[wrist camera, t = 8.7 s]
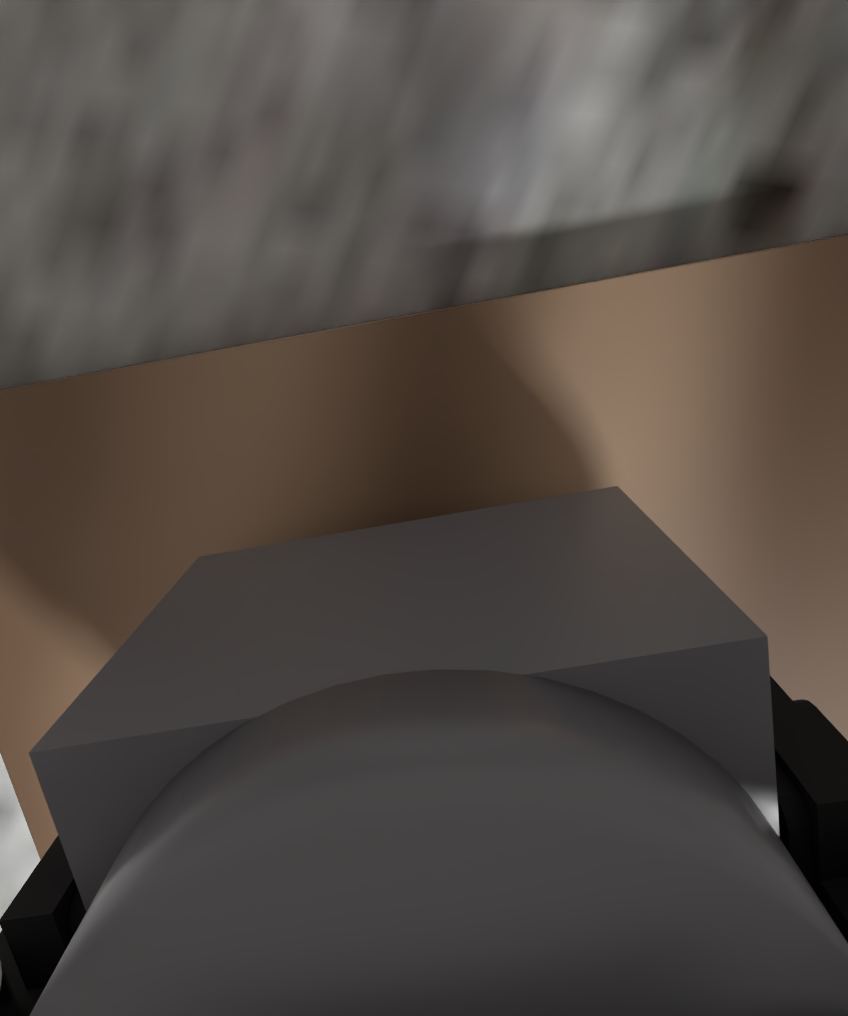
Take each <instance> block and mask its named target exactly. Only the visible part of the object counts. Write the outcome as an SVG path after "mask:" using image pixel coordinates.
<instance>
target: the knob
mask: <svg viewBox="0 0 848 1016" xmlns="http://www.w3.org/2000/svg"><path fill="white" fill-rule="evenodd" d="M29 755H30V758H31V761H32V764H33V766H34V769H35V772H36V775H37V777H38V780H39V783H40V786H41V788H42V791H43V794H44V797H45V799H46V802H47V805H48V808H49V810H50V813H51V816H52V819H53V822H54V824H55V827H56V830H57V833H58V835H59V838H60V841H61V844H62V846H63V849H64V852H65V855H66V857H67V860H68V863H69V866H70V868H71V871H72V874H73V877H74V879H75V882H76V885H77V888H78V891H79V893H80V896H81V899H82V902H83V904H84V907H85V910H86V914H85V916H84V918H83V919H82V921H81V923H80V925H79V927H78V929H77V930H76V932H75V934H74V936H73V938H72V939H71V941H70V943H69V945H68V947H67V949H66V950H65V952H64V954H63V956H62V958H61V959H60V961H59V963H58V965H57V967H56V969H55V970H54V972H53V974H52V976H51V978H50V979H49V981H48V983H47V985H46V987H45V989H44V990H43V992H42V994H41V996H40V998H39V999H38V1001H37V1003H36V1005H35V1007H34V1009H33V1010H32V1012H31V1014H30V1016H848V942H847V941H846V939H845V938H844V936H843V935H842V933H841V932H840V930H839V929H838V927H837V926H836V924H835V922H834V921H833V919H832V918H831V916H830V915H829V913H828V912H827V910H826V909H825V907H824V906H823V904H822V902H821V901H820V899H819V898H818V896H817V895H816V893H815V892H814V890H813V889H812V887H811V886H810V884H809V882H808V881H807V879H806V878H805V876H804V875H803V873H802V872H801V870H800V869H799V867H798V866H797V864H796V862H795V861H794V859H793V858H792V856H791V855H790V853H789V852H788V850H787V849H786V847H785V846H784V844H783V842H782V841H781V839H780V832H779V816H778V799H777V783H776V766H775V750H774V733H773V717H772V700H771V684H770V667H769V651H768V636H767V635H766V634H765V633H764V632H763V631H762V630H761V629H760V628H759V627H758V626H757V625H756V624H755V623H754V622H753V621H752V620H751V619H750V618H749V617H748V616H747V615H746V614H745V613H744V612H743V611H742V610H741V609H740V608H739V607H738V606H737V605H736V604H735V603H734V602H733V601H732V600H731V599H730V598H729V597H728V596H727V595H726V594H725V593H724V592H723V591H722V590H721V589H720V588H719V587H718V586H717V585H716V584H715V583H714V582H713V581H712V580H711V579H710V578H709V577H708V576H707V575H706V574H705V573H704V572H703V571H702V570H701V569H700V568H699V567H698V566H697V565H696V564H695V563H694V562H693V561H692V560H691V559H690V558H689V557H688V556H687V555H686V554H685V553H684V552H683V551H682V550H681V549H680V548H679V547H678V546H677V545H676V544H675V543H674V542H673V541H672V540H671V539H670V538H669V537H668V536H667V535H666V534H665V533H664V532H663V531H662V530H661V529H660V528H659V527H658V526H657V525H656V524H655V523H654V522H653V521H652V520H651V519H650V518H649V517H648V516H647V515H646V514H645V513H644V512H643V511H642V510H641V509H640V508H639V507H638V506H637V505H636V504H635V503H634V502H633V501H632V500H631V499H630V498H629V497H628V496H627V495H626V494H625V493H624V492H623V491H622V490H621V489H620V488H619V487H618V486H613V487H607V488H602V489H596V490H590V491H584V492H578V493H572V494H566V495H560V496H554V497H548V498H543V499H537V500H531V501H525V502H519V503H513V504H507V505H501V506H495V507H489V508H483V509H478V510H472V511H466V512H460V513H454V514H448V515H442V516H436V517H430V518H424V519H418V520H413V521H407V522H401V523H395V524H389V525H383V526H377V527H371V528H365V529H359V530H354V531H348V532H342V533H336V534H330V535H324V536H318V537H312V538H306V539H300V540H294V541H289V542H283V543H277V544H271V545H265V546H259V547H253V548H247V549H241V550H235V551H229V552H224V553H218V554H212V555H206V556H200V557H198V558H197V560H196V561H195V562H194V563H193V564H192V565H191V566H190V568H189V569H188V570H187V571H186V572H185V573H184V574H183V576H182V577H181V578H180V579H179V580H178V581H177V583H176V584H175V585H174V586H173V587H172V588H171V589H170V591H169V592H168V593H167V594H166V595H165V596H164V598H163V599H162V600H161V601H160V602H159V603H158V604H157V606H156V607H155V608H154V609H153V610H152V611H151V612H150V614H149V615H148V616H147V617H146V618H145V619H144V621H143V622H142V623H141V624H140V625H139V626H138V627H137V629H136V630H135V631H134V632H133V633H132V634H131V636H130V637H129V638H128V639H127V640H126V641H125V642H124V644H123V645H122V646H121V647H120V648H119V649H118V651H117V652H116V653H115V654H114V655H113V656H112V657H111V659H110V660H109V661H108V662H107V663H106V664H105V665H104V667H103V668H102V669H101V670H100V671H99V672H98V674H97V675H96V676H95V677H94V678H93V679H92V680H91V682H90V683H89V684H88V685H87V686H86V687H85V689H84V690H83V691H82V692H81V693H80V694H79V695H78V697H77V698H76V699H75V700H74V701H73V702H72V703H71V705H70V706H69V707H68V708H67V709H66V710H65V712H64V713H63V714H62V715H61V716H60V717H59V718H58V720H57V721H56V722H55V723H54V724H53V725H52V727H51V728H50V729H49V730H48V731H47V732H46V733H45V735H44V736H43V737H42V738H41V739H40V740H39V742H38V743H37V744H36V745H35V746H34V747H33V748H32V750H31V751H30V752H29Z"/></svg>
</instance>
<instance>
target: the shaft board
mask: <svg viewBox="0 0 848 1016" xmlns="http://www.w3.org/2000/svg"><path fill="white" fill-rule="evenodd" d="M613 486H618V487H619V488H620V489H621V490H622V491H623V492H624V493H625V494H626V495H627V496H628V497H629V498H630V499H631V500H632V501H633V502H634V503H635V504H636V505H637V506H638V507H639V508H640V509H641V510H642V511H643V512H644V513H645V514H646V515H647V516H648V517H649V518H650V519H651V520H652V521H653V522H654V523H655V524H656V525H657V526H658V527H659V528H660V529H661V530H662V531H663V532H664V533H665V534H666V535H667V536H668V537H669V538H670V539H671V540H672V541H673V542H674V543H675V544H676V545H677V546H678V547H679V548H680V549H681V550H682V551H683V552H684V553H685V554H686V555H687V556H688V557H689V558H690V559H691V560H692V561H693V562H694V563H695V564H696V565H697V566H698V567H699V568H700V569H701V570H702V571H703V572H704V573H705V574H706V575H707V576H708V577H709V578H710V579H711V580H712V581H713V582H714V583H715V584H716V585H717V586H718V587H719V588H720V589H721V590H722V591H723V592H724V593H725V594H726V595H727V596H728V597H729V598H730V599H731V600H732V601H733V602H734V603H735V604H736V605H737V606H738V607H739V608H740V609H741V610H742V611H743V612H744V613H745V614H746V615H747V616H748V617H749V618H750V619H751V620H752V621H753V622H754V623H755V624H756V625H757V626H758V627H759V628H760V629H761V630H762V631H763V632H764V633H765V634H766V635H767V636H768V651H769V667H770V676H771V677H772V678H773V679H774V680H775V681H776V682H777V683H778V685H779V686H780V687H781V688H782V689H783V690H784V691H785V693H786V694H787V695H788V696H789V697H790V698H791V699H792V700H793V701H794V700H800V699H804V700H809V701H810V702H811V703H812V704H814V705H815V706H816V707H817V708H818V709H819V710H820V711H821V713H822V714H823V715H824V716H825V717H826V718H827V719H828V720H829V721H830V722H831V723H832V724H833V725H834V727H835V728H836V729H837V730H838V731H839V732H840V733H841V734H842V735H843V736H844V737H845V738H846V739H847V741H848V234H845V235H840V236H834V237H829V238H823V239H818V240H812V241H807V242H801V243H796V244H791V245H785V246H780V247H774V248H769V249H763V250H758V251H752V252H747V253H742V254H736V255H731V256H725V257H720V258H714V259H709V260H703V261H698V262H692V263H687V264H682V265H676V266H671V267H665V268H660V269H654V270H649V271H643V272H638V273H633V274H627V275H622V276H616V277H611V278H605V279H600V280H594V281H589V282H583V283H578V284H573V285H567V286H562V287H556V288H551V289H545V290H540V291H534V292H529V293H524V294H518V295H513V296H507V297H502V298H496V299H491V300H485V301H480V302H474V303H469V304H464V305H458V306H453V307H447V308H442V309H436V310H431V311H425V312H420V313H415V314H409V315H404V316H398V317H393V318H387V319H382V320H376V321H371V322H366V323H360V324H355V325H349V326H344V327H338V328H333V329H327V330H322V331H316V332H311V333H306V334H300V335H295V336H289V337H284V338H278V339H273V340H267V341H262V342H257V343H251V344H246V345H240V346H235V347H229V348H224V349H218V350H213V351H207V352H202V353H197V354H191V355H186V356H180V357H175V358H169V359H164V360H158V361H153V362H148V363H142V364H137V365H131V366H126V367H120V368H115V369H109V370H104V371H98V372H93V373H88V374H82V375H77V376H71V377H66V378H60V379H55V380H49V381H44V382H39V383H33V384H28V385H22V386H17V387H11V388H6V389H0V753H1V755H2V758H3V761H4V763H5V766H6V769H7V771H8V774H9V777H10V779H11V782H12V785H13V787H14V790H15V793H16V795H17V798H18V801H19V803H20V806H21V809H22V811H23V814H24V817H25V819H26V822H27V825H28V827H29V830H30V833H31V835H32V838H33V841H34V843H35V846H36V849H37V851H38V854H39V857H40V859H42V858H43V856H44V855H45V853H46V852H47V850H48V849H49V848H50V846H51V845H52V843H53V842H54V840H55V839H56V837H57V836H58V833H57V830H56V827H55V824H54V822H53V819H52V816H51V813H50V810H49V808H48V805H47V802H46V799H45V797H44V794H43V791H42V788H41V786H40V783H39V780H38V777H37V775H36V772H35V769H34V766H33V764H32V761H31V758H30V755H29V752H30V751H31V750H32V748H33V747H34V746H35V745H36V744H37V743H38V742H39V740H40V739H41V738H42V737H43V736H44V735H45V733H46V732H47V731H48V730H49V729H50V728H51V727H52V725H53V724H54V723H55V722H56V721H57V720H58V718H59V717H60V716H61V715H62V714H63V713H64V712H65V710H66V709H67V708H68V707H69V706H70V705H71V703H72V702H73V701H74V700H75V699H76V698H77V697H78V695H79V694H80V693H81V692H82V691H83V690H84V689H85V687H86V686H87V685H88V684H89V683H90V682H91V680H92V679H93V678H94V677H95V676H96V675H97V674H98V672H99V671H100V670H101V669H102V668H103V667H104V665H105V664H106V663H107V662H108V661H109V660H110V659H111V657H112V656H113V655H114V654H115V653H116V652H117V651H118V649H119V648H120V647H121V646H122V645H123V644H124V642H125V641H126V640H127V639H128V638H129V637H130V636H131V634H132V633H133V632H134V631H135V630H136V629H137V627H138V626H139V625H140V624H141V623H142V622H143V621H144V619H145V618H146V617H147V616H148V615H149V614H150V612H151V611H152V610H153V609H154V608H155V607H156V606H157V604H158V603H159V602H160V601H161V600H162V599H163V598H164V596H165V595H166V594H167V593H168V592H169V591H170V589H171V588H172V587H173V586H174V585H175V584H176V583H177V581H178V580H179V579H180V578H181V577H182V576H183V574H184V573H185V572H186V571H187V570H188V569H189V568H190V566H191V565H192V564H193V563H194V562H195V561H196V560H197V558H198V557H200V556H206V555H212V554H218V553H224V552H229V551H235V550H241V549H247V548H253V547H259V546H265V545H271V544H277V543H283V542H289V541H294V540H300V539H306V538H312V537H318V536H324V535H330V534H336V533H342V532H348V531H354V530H359V529H365V528H371V527H377V526H383V525H389V524H395V523H401V522H407V521H413V520H418V519H424V518H430V517H436V516H442V515H448V514H454V513H460V512H466V511H472V510H478V509H483V508H489V507H495V506H501V505H507V504H513V503H519V502H525V501H531V500H537V499H543V498H548V497H554V496H560V495H566V494H572V493H578V492H584V491H590V490H596V489H602V488H607V487H613Z"/></svg>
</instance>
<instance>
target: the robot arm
mask: <svg viewBox="0 0 848 1016" xmlns="http://www.w3.org/2000/svg"><path fill="white" fill-rule="evenodd" d="M770 684H771V700H772V717H773V733H774V750H775V766H776V783H777V799H778V816H779V832H780V839H781V841H782V842H783V844H784V846H785V847H786V849H787V850H788V852H789V853H790V855H791V856H792V858H793V859H794V861H795V862H796V864H797V866H798V867H799V869H800V870H801V872H802V873H803V875H804V876H805V878H806V879H807V881H808V882H809V884H810V886H811V887H812V889H813V890H814V892H815V893H816V895H817V896H818V898H819V899H820V901H821V902H822V904H823V906H824V907H825V909H826V910H827V912H828V913H829V915H830V916H831V918H832V919H833V921H834V922H835V924H836V926H837V927H838V929H839V930H840V932H841V933H842V935H843V936H844V938H845V939H846V941H847V942H848V741H847V739H846V738H845V737H844V736H843V735H842V734H841V733H840V732H839V731H838V730H837V729H836V728H835V727H834V725H833V724H832V723H831V722H830V721H829V720H828V719H827V718H826V717H825V716H824V715H823V714H822V713H821V711H820V710H819V709H818V708H817V707H816V706H815V705H814V704H812V703H811V702H810V701H809V700H804V699H800V700H794V701H793V700H792V699H791V698H790V697H789V696H788V695H787V694H786V693H785V691H784V690H783V689H782V688H781V687H780V686H779V685H778V683H777V682H776V681H775V680H774V679H773V678H772V677H771V676H770ZM85 914H86V910H85V907H84V904H83V902H82V899H81V896H80V893H79V891H78V888H77V885H76V882H75V879H74V877H73V874H72V871H71V868H70V866H69V863H68V860H67V857H66V855H65V852H64V849H63V846H62V844H61V841H60V838H59V835H58V836H57V837H56V839H55V840H54V842H53V843H52V845H51V846H50V848H49V849H48V850H47V852H46V853H45V855H44V856H43V858H42V859H41V861H40V862H39V864H38V865H37V866H36V868H35V869H34V871H33V872H32V874H31V875H30V877H29V878H28V880H27V881H26V882H25V884H24V885H23V887H22V888H21V890H20V891H19V893H18V894H17V896H16V897H15V898H14V900H13V901H12V903H11V904H10V906H9V907H8V909H7V910H6V912H5V913H4V914H3V916H2V917H1V919H0V925H1V928H2V931H1V933H0V1016H30V1014H31V1012H32V1010H33V1009H34V1007H35V1005H36V1003H37V1001H38V999H39V998H40V996H41V994H42V992H43V990H44V989H45V987H46V985H47V983H48V981H49V979H50V978H51V976H52V974H53V972H54V970H55V969H56V967H57V965H58V963H59V961H60V959H61V958H62V956H63V954H64V952H65V950H66V949H67V947H68V945H69V943H70V941H71V939H72V938H73V936H74V934H75V932H76V930H77V929H78V927H79V925H80V923H81V921H82V919H83V918H84V916H85Z"/></svg>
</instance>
